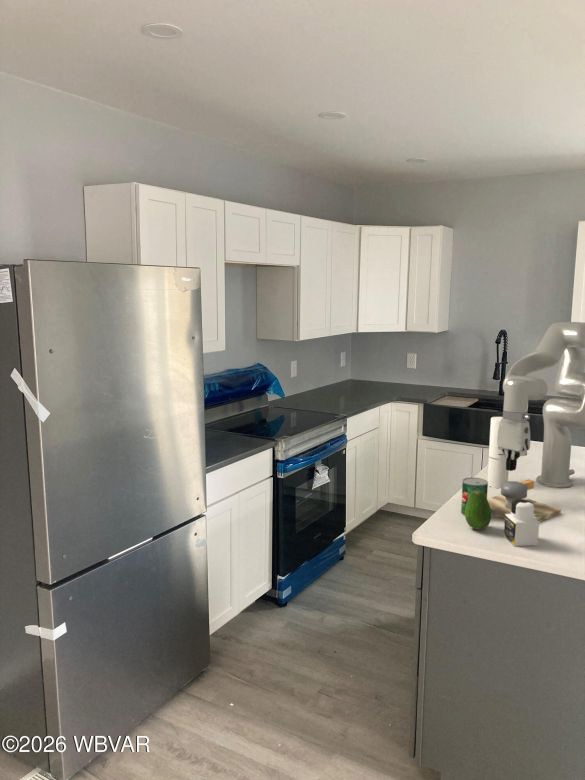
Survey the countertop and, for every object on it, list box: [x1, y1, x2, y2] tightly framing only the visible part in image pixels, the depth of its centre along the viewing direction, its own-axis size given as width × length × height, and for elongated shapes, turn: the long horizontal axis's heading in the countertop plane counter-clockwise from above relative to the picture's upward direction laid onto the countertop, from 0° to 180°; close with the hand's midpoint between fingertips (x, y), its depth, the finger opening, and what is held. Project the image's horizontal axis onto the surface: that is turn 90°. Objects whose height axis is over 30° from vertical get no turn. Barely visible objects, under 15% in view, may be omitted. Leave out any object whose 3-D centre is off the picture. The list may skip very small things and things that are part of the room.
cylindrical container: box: [487, 416, 509, 489], centre depth 229 cm, size 7×7×25 cm
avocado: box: [464, 490, 493, 530], centre depth 189 cm, size 8×8×12 cm
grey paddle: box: [500, 479, 535, 499], centre depth 205 cm, size 13×8×3 cm, turn 124°
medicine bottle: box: [503, 499, 540, 547], centre depth 180 cm, size 7×7×12 cm
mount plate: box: [487, 494, 562, 523], centre depth 205 cm, size 18×20×6 cm
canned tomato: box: [460, 477, 489, 517], centre depth 202 cm, size 8×8×11 cm
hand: (510, 469), depth 211 cm, fingers closed
